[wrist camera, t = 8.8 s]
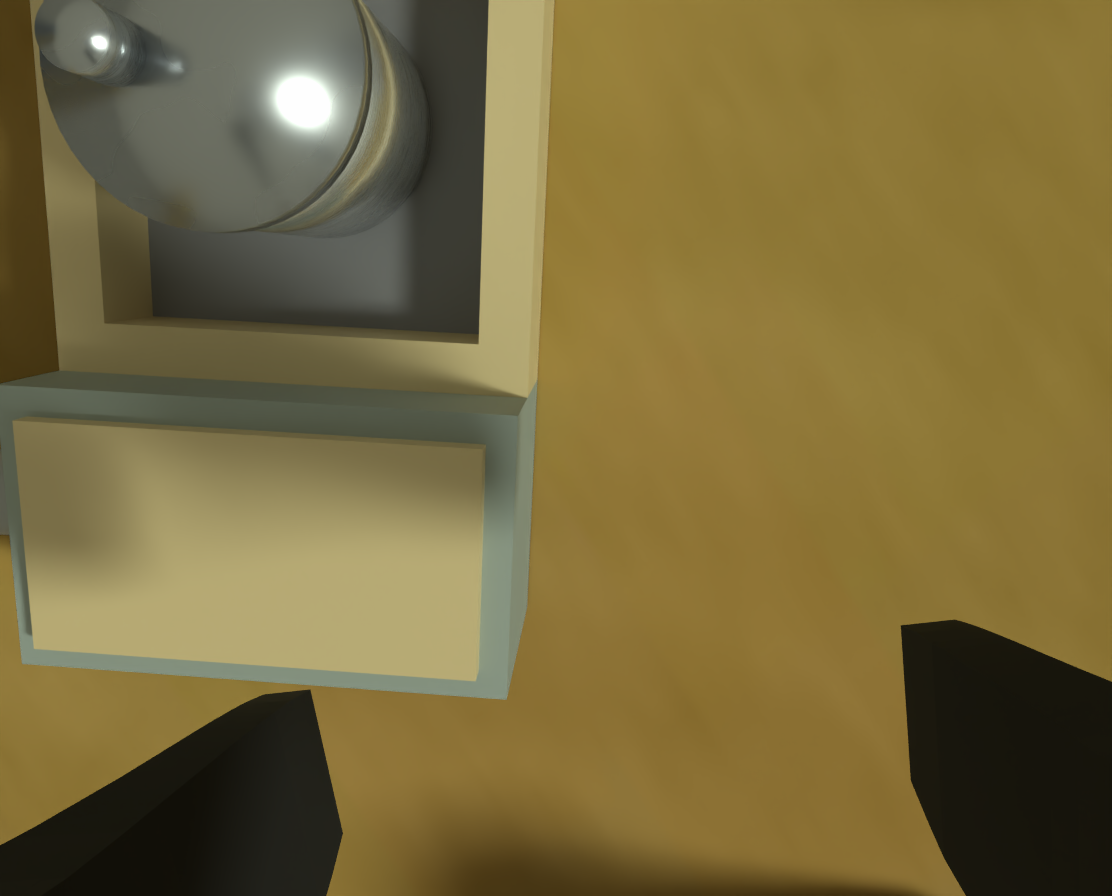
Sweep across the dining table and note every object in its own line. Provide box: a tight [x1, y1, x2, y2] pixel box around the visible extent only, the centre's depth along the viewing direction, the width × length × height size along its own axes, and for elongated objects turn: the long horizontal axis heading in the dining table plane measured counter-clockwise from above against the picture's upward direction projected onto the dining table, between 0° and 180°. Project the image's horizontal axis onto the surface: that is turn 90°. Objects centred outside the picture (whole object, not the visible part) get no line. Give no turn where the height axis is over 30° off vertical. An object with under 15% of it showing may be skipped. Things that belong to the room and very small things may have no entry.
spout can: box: [34, 0, 432, 239], centre depth 15 cm, size 5×5×6 cm
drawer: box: [0, 0, 554, 700], centre depth 17 cm, size 12×15×5 cm
